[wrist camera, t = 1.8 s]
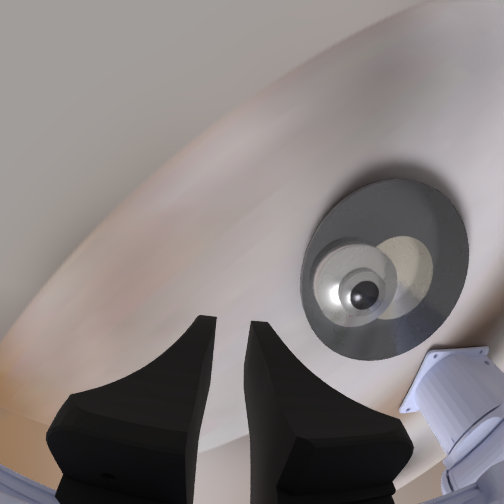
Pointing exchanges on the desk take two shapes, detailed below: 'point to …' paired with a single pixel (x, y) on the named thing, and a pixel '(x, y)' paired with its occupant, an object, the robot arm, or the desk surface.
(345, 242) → the cover
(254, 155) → the desk surface
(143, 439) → the robot arm
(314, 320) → the turntable
